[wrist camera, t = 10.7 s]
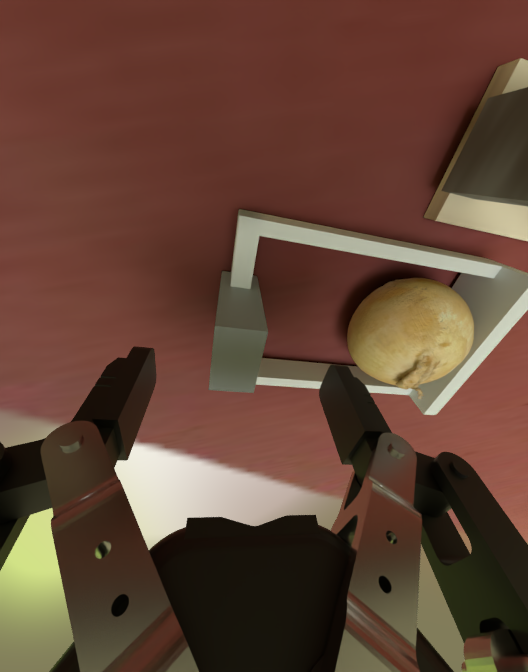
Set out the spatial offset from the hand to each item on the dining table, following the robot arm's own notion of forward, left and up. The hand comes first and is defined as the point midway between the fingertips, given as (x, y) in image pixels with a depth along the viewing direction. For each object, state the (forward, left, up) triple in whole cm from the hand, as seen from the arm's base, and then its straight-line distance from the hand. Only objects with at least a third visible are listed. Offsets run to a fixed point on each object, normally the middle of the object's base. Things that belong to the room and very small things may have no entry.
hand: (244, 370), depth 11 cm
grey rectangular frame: (0, +8, -8) cm, 11 cm away
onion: (0, +12, -8) cm, 15 cm away
